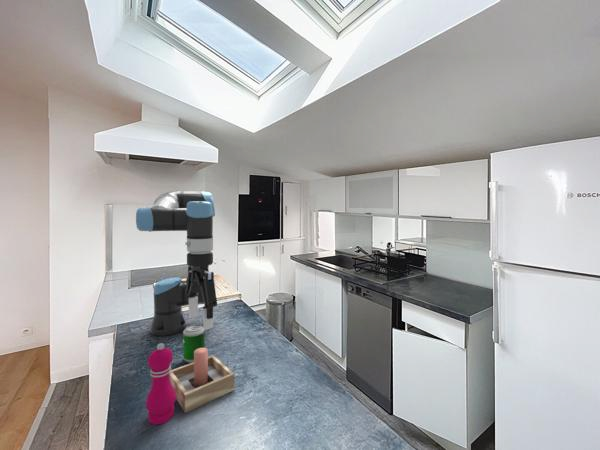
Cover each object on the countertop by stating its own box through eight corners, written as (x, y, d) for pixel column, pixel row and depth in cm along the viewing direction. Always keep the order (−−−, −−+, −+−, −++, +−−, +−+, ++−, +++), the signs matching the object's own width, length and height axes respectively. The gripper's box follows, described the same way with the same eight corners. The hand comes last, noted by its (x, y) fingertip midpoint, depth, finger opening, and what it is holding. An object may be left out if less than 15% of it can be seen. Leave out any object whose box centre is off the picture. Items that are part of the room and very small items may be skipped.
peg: (192, 387, 86) (191, 350, 85) (204, 382, 89) (204, 346, 88) (197, 394, 83) (197, 355, 83) (210, 388, 86) (209, 351, 85)
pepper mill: (153, 407, 77) (152, 337, 77) (179, 405, 78) (179, 337, 77) (140, 427, 70) (139, 350, 69) (170, 425, 71) (169, 349, 70)
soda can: (209, 355, 105) (208, 325, 105) (195, 366, 98) (195, 333, 98) (193, 352, 108) (192, 322, 107) (178, 362, 101) (178, 330, 100)
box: (168, 386, 86) (167, 371, 86) (213, 368, 96) (213, 355, 96) (185, 412, 75) (185, 395, 75) (234, 389, 85) (234, 374, 85)
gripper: (174, 249, 90) (175, 314, 91) (203, 258, 73) (204, 339, 74) (197, 247, 95) (197, 309, 96) (229, 255, 78) (229, 331, 79)
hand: (200, 322), depth 85 cm, fingers open, 11 cm apart
